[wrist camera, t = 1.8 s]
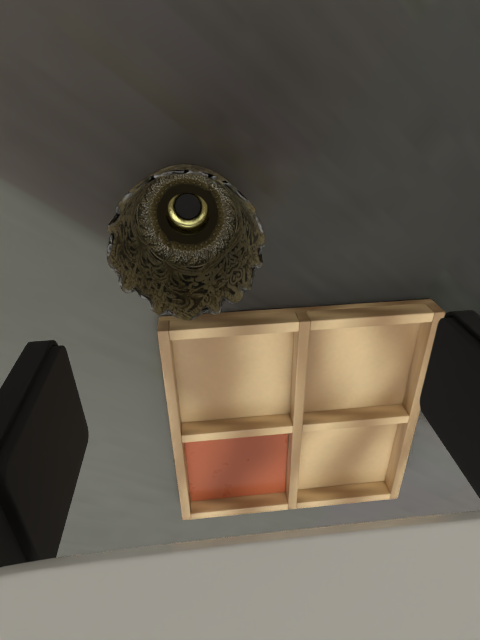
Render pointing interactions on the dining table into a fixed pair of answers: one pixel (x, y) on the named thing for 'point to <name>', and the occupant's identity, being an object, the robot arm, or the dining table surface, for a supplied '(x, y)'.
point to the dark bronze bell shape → (185, 242)
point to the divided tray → (294, 403)
